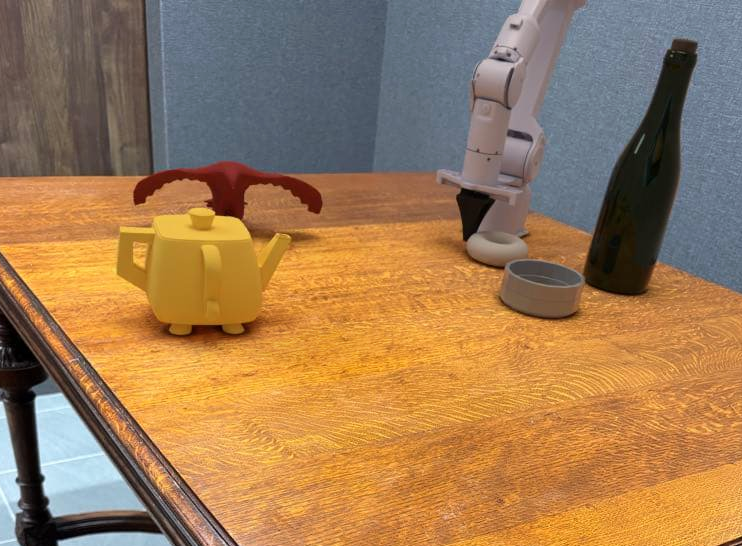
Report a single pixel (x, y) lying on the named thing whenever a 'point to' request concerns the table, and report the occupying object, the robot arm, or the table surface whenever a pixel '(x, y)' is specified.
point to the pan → (541, 288)
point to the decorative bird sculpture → (229, 186)
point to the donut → (496, 248)
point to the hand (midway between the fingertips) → (468, 240)
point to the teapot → (200, 269)
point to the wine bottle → (643, 185)
